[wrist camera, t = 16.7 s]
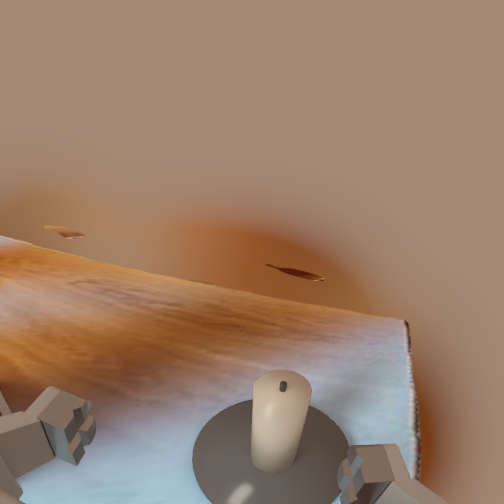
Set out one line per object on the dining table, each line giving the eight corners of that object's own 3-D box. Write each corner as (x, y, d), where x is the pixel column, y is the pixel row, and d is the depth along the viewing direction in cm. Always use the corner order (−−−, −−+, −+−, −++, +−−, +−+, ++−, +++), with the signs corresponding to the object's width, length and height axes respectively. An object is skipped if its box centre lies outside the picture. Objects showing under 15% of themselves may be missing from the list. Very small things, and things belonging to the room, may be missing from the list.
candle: (241, 454, 30) (241, 383, 25) (271, 430, 34) (280, 355, 28) (274, 480, 27) (286, 415, 22) (304, 453, 30) (324, 382, 25)
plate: (163, 452, 31) (161, 448, 30) (268, 383, 42) (269, 378, 42) (276, 555, 19) (277, 554, 19) (375, 449, 31) (378, 445, 30)
